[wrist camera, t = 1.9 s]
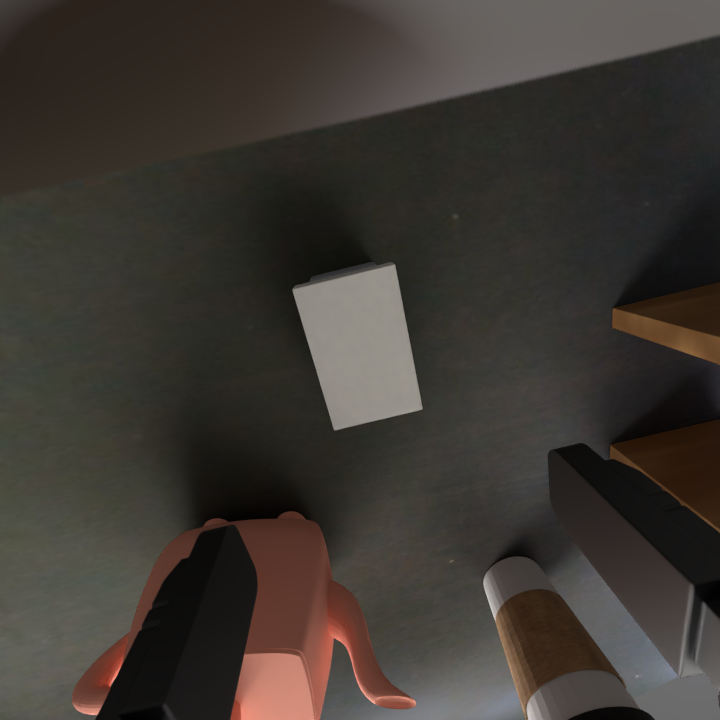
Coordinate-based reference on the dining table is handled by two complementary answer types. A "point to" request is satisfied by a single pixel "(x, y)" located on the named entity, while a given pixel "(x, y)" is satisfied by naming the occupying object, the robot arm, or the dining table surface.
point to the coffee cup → (552, 650)
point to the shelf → (688, 444)
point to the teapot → (272, 626)
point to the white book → (360, 345)
